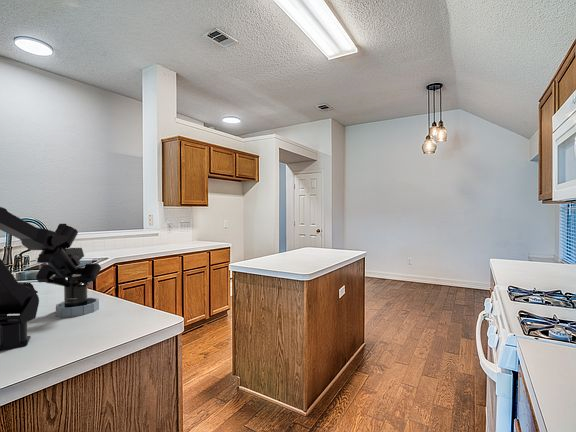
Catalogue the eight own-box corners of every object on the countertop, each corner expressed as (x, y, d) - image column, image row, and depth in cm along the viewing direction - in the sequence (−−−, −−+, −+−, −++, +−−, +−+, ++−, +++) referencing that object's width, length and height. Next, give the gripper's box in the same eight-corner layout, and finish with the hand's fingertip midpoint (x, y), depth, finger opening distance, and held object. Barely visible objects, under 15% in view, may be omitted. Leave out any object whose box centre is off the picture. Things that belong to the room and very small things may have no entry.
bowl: (99, 312, 109) (99, 303, 109) (54, 319, 102) (54, 310, 102) (98, 303, 120) (98, 295, 120) (57, 309, 113) (57, 301, 113)
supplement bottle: (67, 313, 106) (66, 278, 106) (62, 309, 111) (61, 275, 110) (90, 308, 111) (89, 274, 111) (84, 304, 116) (83, 272, 115)
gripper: (97, 240, 107) (114, 266, 118) (41, 241, 106) (63, 267, 117) (84, 267, 99) (103, 292, 111) (23, 268, 98) (48, 293, 110)
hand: (79, 285), depth 112 cm, fingers open, 7 cm apart
